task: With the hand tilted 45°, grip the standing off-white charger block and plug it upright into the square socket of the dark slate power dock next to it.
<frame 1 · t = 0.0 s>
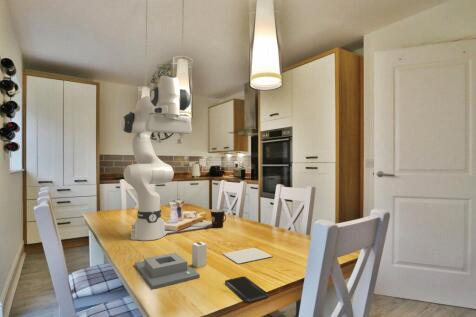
hand: (169, 143, 122), 48 cm above the table, tool pointing down, fingers open, 8 cm apart
paper stack: (244, 262, 111), on the table
power dock: (165, 271, 100), on the table
charger: (199, 264, 106), on the table
coffee mug: (218, 227, 168), on the table
phone: (245, 291, 86), on the table
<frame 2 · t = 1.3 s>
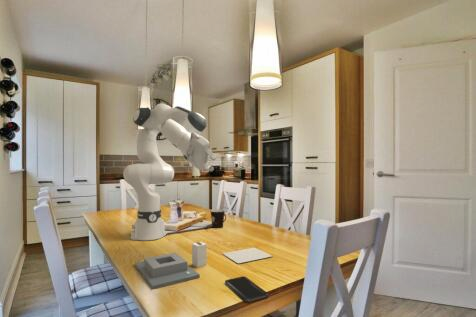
hand: (213, 164, 118), 39 cm above the table, tool tilted 55°, fingers open, 8 cm apart
nothing on the table moved.
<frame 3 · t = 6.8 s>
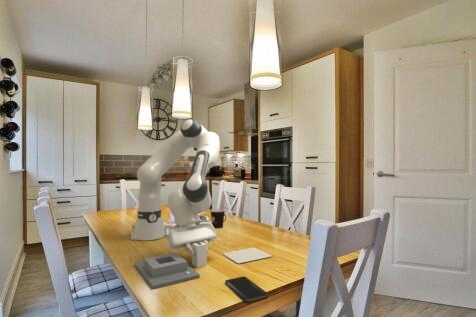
hand: (200, 253, 106), 4 cm above the table, tool tilted 45°, fingers closed on charger, 4 cm apart
charger: (199, 264, 106), on the table, touching gripper
everything else where it was.
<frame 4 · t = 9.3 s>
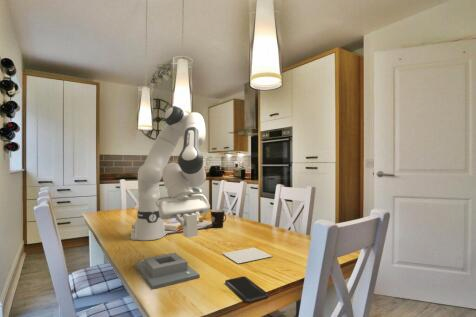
hand: (190, 224, 104), 16 cm above the table, tool tilted 45°, fingers closed on charger, 4 cm apart
charger: (190, 235, 105), point 12 cm above the table, touching gripper
everything else where it was.
when the fingers open (6 cm above the table, at t = 12.0 s): charger stays where it is, resting on power dock.
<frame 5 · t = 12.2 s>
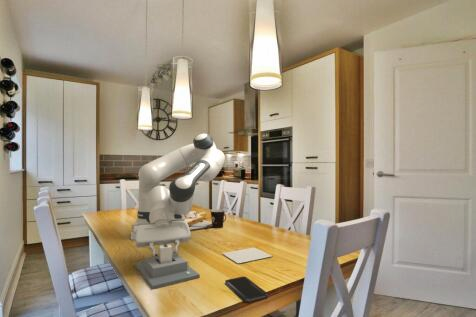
hand: (165, 253, 100), 6 cm above the table, tool tilted 45°, fingers open, 6 cm apart
charger: (165, 268, 100), point 1 cm above the table, touching power dock
everything else where it was.
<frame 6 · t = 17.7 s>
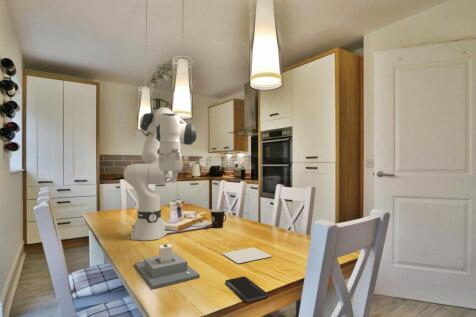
hand: (170, 181, 120), 31 cm above the table, tool pointing down, fingers open, 8 cm apart
nothing on the table moved.
at the end: charger 0.0 cm off-centre on the power dock, point 1.0 cm above the power dock's base; charger tilted 0°; the gripper is holding nothing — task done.
